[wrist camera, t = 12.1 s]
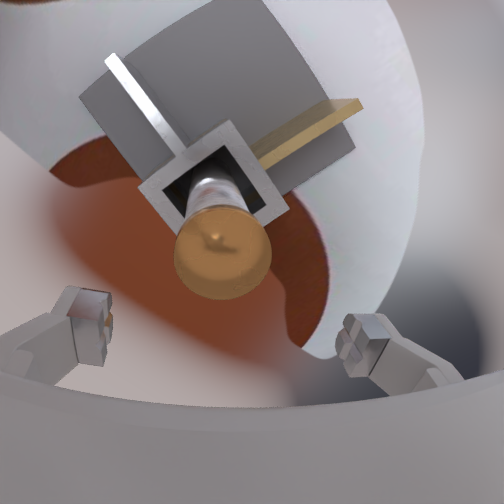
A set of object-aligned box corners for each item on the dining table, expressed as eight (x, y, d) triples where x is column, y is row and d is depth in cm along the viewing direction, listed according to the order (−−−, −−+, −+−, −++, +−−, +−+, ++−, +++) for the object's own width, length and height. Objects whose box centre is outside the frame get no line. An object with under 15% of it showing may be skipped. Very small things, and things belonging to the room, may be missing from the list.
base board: (82, 97, 27) (78, 96, 26) (246, -13, 24) (247, -17, 23) (200, 247, 36) (200, 252, 35) (351, 146, 34) (355, 147, 32)
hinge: (97, 97, 26) (66, 94, 19) (251, -4, 24) (266, -35, 17) (202, 233, 34) (203, 267, 27) (345, 138, 32) (382, 147, 25)
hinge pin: (180, 172, 31) (153, 249, 14) (217, 146, 30) (235, 190, 13) (206, 207, 33) (213, 315, 16) (242, 182, 32) (289, 265, 15)
